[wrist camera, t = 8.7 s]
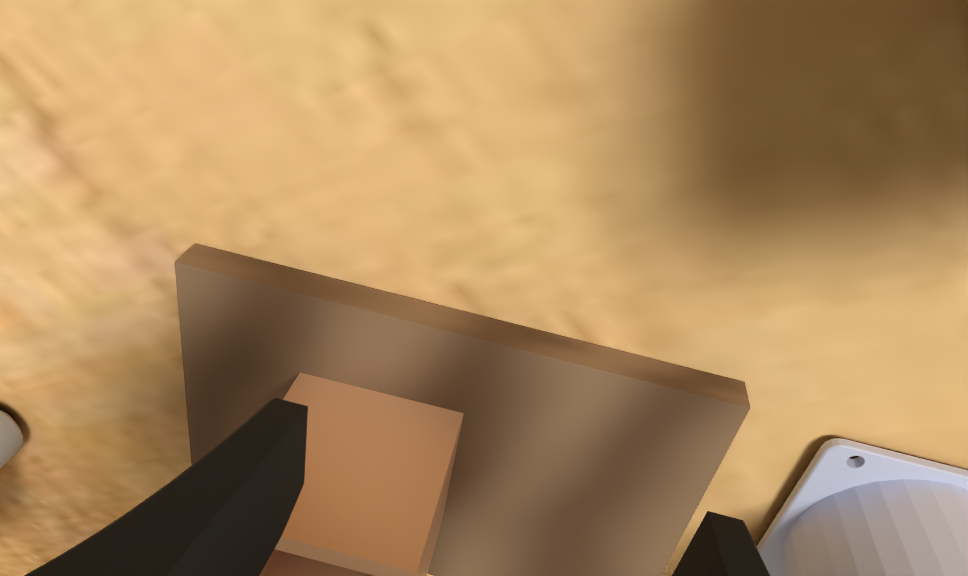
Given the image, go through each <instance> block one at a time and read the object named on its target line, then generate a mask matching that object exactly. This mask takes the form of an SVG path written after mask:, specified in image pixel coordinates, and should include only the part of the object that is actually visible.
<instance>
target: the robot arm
mask: <svg viewBox="0 0 968 576" xmlns="http://www.w3.org/2000/svg"><path fill="white" fill-rule="evenodd" d="M307 417H308V406H305V405H301V404H298V403H294V402H290V401H286V400H282V399H278V398H274V399H272V400H270V401H269V402H267V403H266V404H265V405H264V406H263V407H262V408H261V409H260V410H258V411H257V412H256V413H255V414H254V415H253V416H252V417H250V418H249V419H248V420H247V421H246V422H245V423H243V424H242V425H241V426H240V427H239V428H238V429H236V430H235V431H234V432H233V433H232V434H231V435H229V436H228V437H227V438H226V439H224V440H223V441H222V442H221V443H220V444H218V445H217V446H216V447H215V448H214V449H212V450H211V451H210V452H209V453H207V454H206V455H205V456H203V457H202V458H201V459H200V460H198V461H197V462H196V463H194V464H193V465H192V466H191V467H189V468H188V469H187V470H185V471H184V472H183V473H182V474H180V475H179V476H178V477H176V478H175V479H174V480H172V481H171V482H170V483H168V484H167V485H166V486H164V487H163V488H161V489H160V490H159V491H157V492H156V493H154V494H153V495H152V496H150V497H149V498H147V499H146V500H145V501H143V502H142V503H140V504H139V505H137V506H136V507H135V508H133V509H132V510H130V511H129V512H128V513H126V514H125V515H123V516H122V517H120V518H119V519H117V520H116V521H114V522H113V523H111V524H110V525H108V526H107V527H105V528H104V529H102V530H100V531H99V532H97V533H96V534H94V535H93V536H91V537H89V538H88V539H86V540H84V541H83V542H81V543H80V544H78V545H76V546H75V547H73V548H71V549H70V550H68V551H67V552H65V553H63V554H61V555H60V556H58V557H56V558H55V559H53V560H51V561H49V562H47V563H46V564H44V565H42V566H40V567H39V568H37V569H35V570H33V571H32V572H30V573H28V574H26V575H24V576H259V575H260V574H261V572H262V570H263V568H264V567H265V565H266V563H267V561H268V559H269V558H270V556H271V554H272V552H273V551H274V549H275V547H276V545H277V543H278V542H279V540H280V538H281V536H282V534H283V532H284V529H285V527H286V525H287V523H288V520H289V518H290V516H291V513H292V511H293V509H294V506H295V504H296V502H297V499H298V497H299V494H300V492H301V490H302V487H303V485H304V478H305V458H306V438H307ZM852 456H859V457H858V458H854V459H849V458H850V457H852ZM672 576H968V470H965V469H961V468H957V467H953V466H949V465H945V464H941V463H937V462H933V461H929V460H925V459H921V458H917V457H914V456H910V455H906V454H902V453H898V452H894V451H890V450H886V449H882V448H878V447H874V446H870V445H866V444H862V443H859V442H855V441H851V440H847V439H841V438H835V439H830V440H828V441H826V442H825V443H824V444H823V445H822V446H821V447H820V448H819V450H818V452H817V453H816V455H815V456H814V458H813V459H812V461H811V463H810V464H809V466H808V467H807V469H806V470H805V472H804V473H803V475H802V477H801V478H800V480H799V481H798V483H797V484H796V486H795V487H794V489H793V491H792V492H791V494H790V495H789V497H788V498H787V500H786V502H785V503H784V505H783V506H782V508H781V509H780V511H779V512H778V514H777V516H776V517H775V519H774V520H773V522H772V523H771V525H770V527H769V528H768V530H767V531H766V533H765V534H764V536H763V537H762V539H761V541H760V542H759V544H758V545H757V547H756V545H755V543H754V541H753V539H752V537H751V535H750V533H749V531H748V529H747V527H746V525H745V523H744V522H743V520H739V519H736V518H732V517H728V516H724V515H720V514H717V513H713V512H709V511H707V513H706V515H705V517H704V519H703V521H702V522H701V524H700V526H699V528H698V530H697V531H696V533H695V535H694V537H693V539H692V540H691V542H690V544H689V546H688V548H687V550H686V551H685V553H684V555H683V557H682V559H681V560H680V562H679V564H678V566H677V568H676V569H675V571H674V573H673V575H672Z"/></svg>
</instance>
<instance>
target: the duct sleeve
mask: <svg viewBox="0 0 968 576" xmlns="http://www.w3.org/2000/svg"><path fill="white" fill-rule="evenodd" d="M283 400H286V401H290V402H294V403H298V404H301V405H305V406H308V417H307V438H306V458H305V478H304V485H303V487H302V490H301V492H300V494H299V497H298V499H297V502H296V504H295V506H294V509H293V511H292V513H291V516H290V518H289V520H288V523H287V525H286V527H285V529H284V532H283V534H282V536H281V538H280V540H279V542H278V543H277V545H276V547H275V549H274V551H273V552H272V554H271V556H270V558H269V559H268V561H267V563H266V565H265V567H264V568H263V570H262V572H261V574H260V575H259V576H427V573H428V570H429V566H430V563H431V559H432V555H433V552H434V548H435V545H436V541H437V538H438V534H439V530H440V527H441V523H442V519H443V514H444V509H445V504H446V499H447V494H448V489H449V484H450V479H451V474H452V469H453V464H454V459H455V454H456V449H457V444H458V440H459V435H460V430H461V425H462V420H463V415H464V413H461V412H457V411H453V410H449V409H445V408H441V407H437V406H433V405H429V404H425V403H421V402H417V401H413V400H409V399H405V398H400V397H396V396H392V395H388V394H384V393H380V392H376V391H372V390H368V389H364V388H360V387H356V386H352V385H348V384H344V383H340V382H336V381H332V380H328V379H324V378H320V377H316V376H312V375H308V374H304V373H299V375H298V376H297V378H296V380H295V381H294V383H293V384H292V386H291V387H290V389H289V391H288V392H287V394H286V395H285V397H284V398H283Z"/></svg>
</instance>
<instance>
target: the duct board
mask: <svg viewBox="0 0 968 576" xmlns="http://www.w3.org/2000/svg"><path fill="white" fill-rule="evenodd" d="M175 272H176V284H177V296H178V307H179V319H180V331H181V343H182V355H183V367H184V379H185V390H186V402H187V414H188V426H189V438H190V450H191V462H192V465H193V464H194V463H196V462H197V461H198V460H200V459H201V458H202V457H203V456H205V455H206V454H207V453H209V452H210V451H211V450H212V449H214V448H215V447H216V446H217V445H218V444H220V443H221V442H222V441H223V440H224V439H226V438H227V437H228V436H229V435H231V434H232V433H233V432H234V431H235V430H236V429H238V428H239V427H240V426H241V425H242V424H243V423H245V422H246V421H247V420H248V419H249V418H250V417H252V416H253V415H254V414H255V413H256V412H257V411H258V410H260V409H261V408H262V407H263V406H264V405H265V404H266V403H267V402H269V401H270V400H272V399H274V398H278V399H282V400H283V398H284V397H285V395H286V394H287V392H288V391H289V389H290V387H291V386H292V384H293V383H294V381H295V380H296V378H297V376H298V375H299V373H304V374H308V375H312V376H316V377H320V378H324V379H328V380H332V381H336V382H340V383H344V384H348V385H352V386H356V387H360V388H364V389H368V390H372V391H376V392H380V393H384V394H388V395H392V396H396V397H400V398H405V399H409V400H413V401H417V402H421V403H425V404H429V405H433V406H437V407H441V408H445V409H449V410H453V411H457V412H461V413H464V415H463V420H462V425H461V430H460V435H459V440H458V444H457V449H456V454H455V459H454V464H453V469H452V474H451V479H450V484H449V489H448V494H447V499H446V504H445V509H444V514H443V519H442V523H441V527H440V530H439V534H438V538H437V541H436V545H435V548H434V552H433V555H432V559H431V563H430V566H429V570H428V573H427V574H430V575H434V576H661V574H662V572H663V570H664V568H665V566H666V564H667V562H668V561H669V559H670V557H671V555H672V553H673V551H674V549H675V548H676V546H677V544H678V542H679V540H680V538H681V536H682V534H683V533H684V531H685V529H686V527H687V525H688V523H689V521H690V520H691V518H692V516H693V514H694V512H695V510H696V508H697V506H698V505H699V503H700V501H701V499H702V497H703V495H704V493H705V492H706V490H707V488H708V486H709V484H710V482H711V480H712V478H713V477H714V475H715V473H716V471H717V469H718V467H719V465H720V464H721V462H722V460H723V458H724V456H725V454H726V452H727V450H728V449H729V447H730V445H731V443H732V441H733V439H734V437H735V436H736V434H737V432H738V430H739V428H740V426H741V424H742V422H743V421H744V419H745V417H746V415H747V413H748V411H749V409H750V404H749V400H748V395H747V391H746V386H745V382H742V381H738V380H734V379H730V378H726V377H722V376H718V375H714V374H710V373H706V372H703V371H699V370H695V369H691V368H687V367H683V366H679V365H675V364H671V363H667V362H663V361H659V360H655V359H651V358H647V357H643V356H639V355H635V354H631V353H627V352H623V351H619V350H615V349H611V348H607V347H603V346H599V345H595V344H591V343H587V342H583V341H580V340H576V339H572V338H568V337H564V336H560V335H556V334H552V333H548V332H544V331H540V330H536V329H532V328H528V327H524V326H520V325H516V324H512V323H508V322H504V321H500V320H496V319H492V318H488V317H484V316H480V315H476V314H472V313H468V312H464V311H461V310H457V309H453V308H449V307H445V306H441V305H437V304H433V303H429V302H425V301H421V300H417V299H413V298H409V297H405V296H401V295H397V294H393V293H389V292H385V291H381V290H377V289H373V288H369V287H365V286H361V285H357V284H353V283H349V282H345V281H341V280H338V279H334V278H330V277H326V276H322V275H318V274H314V273H310V272H306V271H302V270H298V269H294V268H290V267H286V266H282V265H278V264H274V263H270V262H266V261H262V260H258V259H254V258H250V257H246V256H242V255H238V254H234V253H230V252H226V251H222V250H219V249H215V248H211V247H207V246H203V245H199V244H194V245H193V246H192V247H191V248H189V249H188V250H187V251H186V252H185V253H184V254H183V255H182V256H181V257H179V258H178V259H177V260H176V261H175Z"/></svg>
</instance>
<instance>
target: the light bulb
mask: <svg viewBox="0 0 968 576" xmlns="http://www.w3.org/2000/svg"><path fill="white" fill-rule="evenodd" d="M23 439H24V438H23V435H22V432H21V430H20V428H19V426H18V425H17V424H16V422H15V420H14V419H13V418H12V416H11V415H9V414H8V413H7V412H5V411H3V410H1V409H0V468H1V467H2V466H3V465H4V464H5V463H7V462H8V461H9V460H10V459H11V458H12V457H13V456H14V455H15V454H16V453H17V452H18V451H19V450H20V449H21V448H22V446H23Z"/></svg>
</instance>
